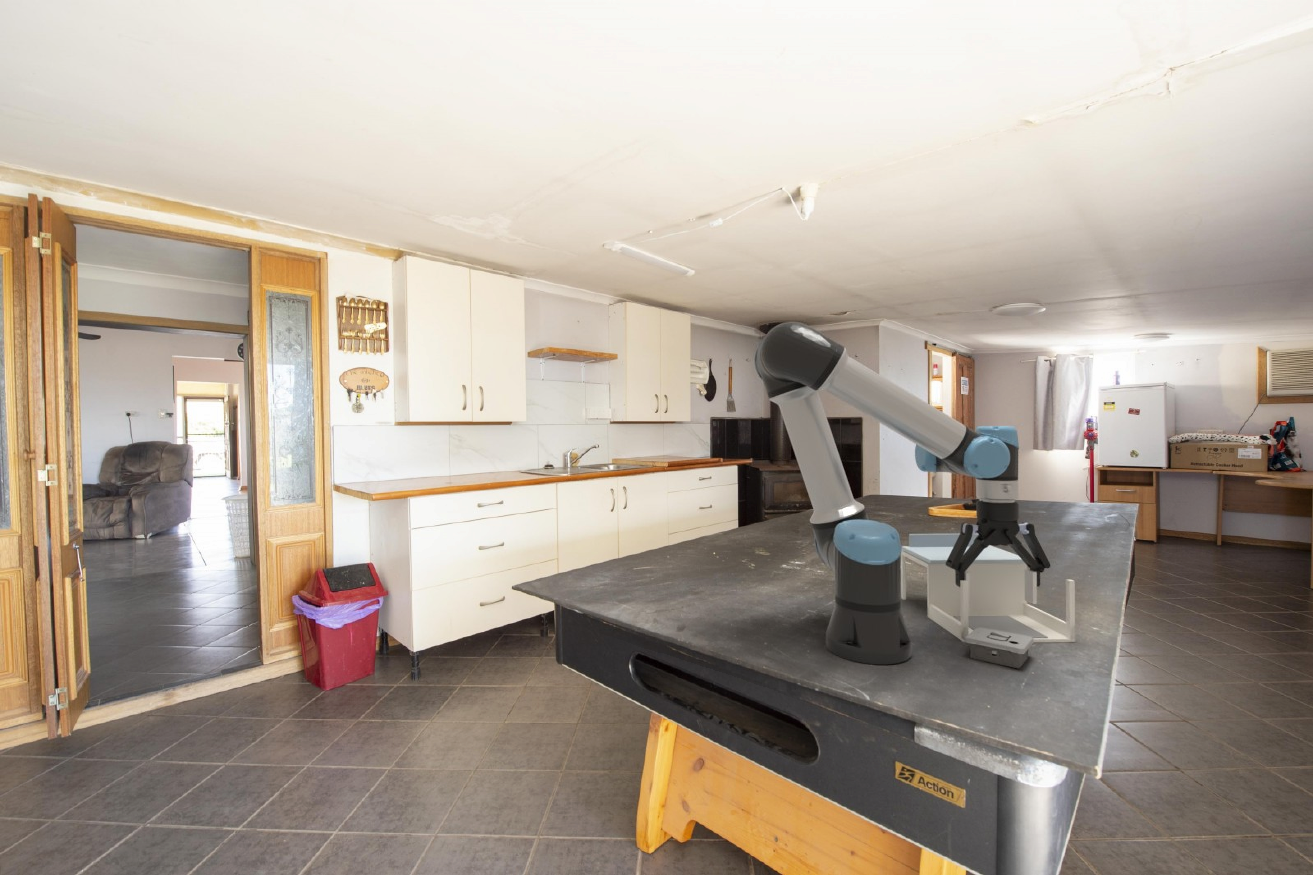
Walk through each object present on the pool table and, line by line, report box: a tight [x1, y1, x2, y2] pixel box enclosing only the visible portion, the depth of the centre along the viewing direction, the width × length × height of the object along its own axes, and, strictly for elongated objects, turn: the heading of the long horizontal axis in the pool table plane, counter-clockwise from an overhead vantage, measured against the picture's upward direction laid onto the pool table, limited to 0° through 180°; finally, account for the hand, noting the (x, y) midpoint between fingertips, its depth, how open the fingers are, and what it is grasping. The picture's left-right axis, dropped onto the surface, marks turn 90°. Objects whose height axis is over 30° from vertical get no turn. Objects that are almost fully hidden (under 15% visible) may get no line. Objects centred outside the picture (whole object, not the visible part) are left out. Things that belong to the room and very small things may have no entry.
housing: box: [901, 550, 1076, 643], centre depth 126 cm, size 22×29×12 cm
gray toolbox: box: [964, 627, 1035, 669], centre depth 104 cm, size 9×5×9 cm
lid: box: [901, 532, 1024, 564], centre depth 132 cm, size 22×15×4 cm
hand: (997, 602), depth 118 cm, fingers open, 13 cm apart
